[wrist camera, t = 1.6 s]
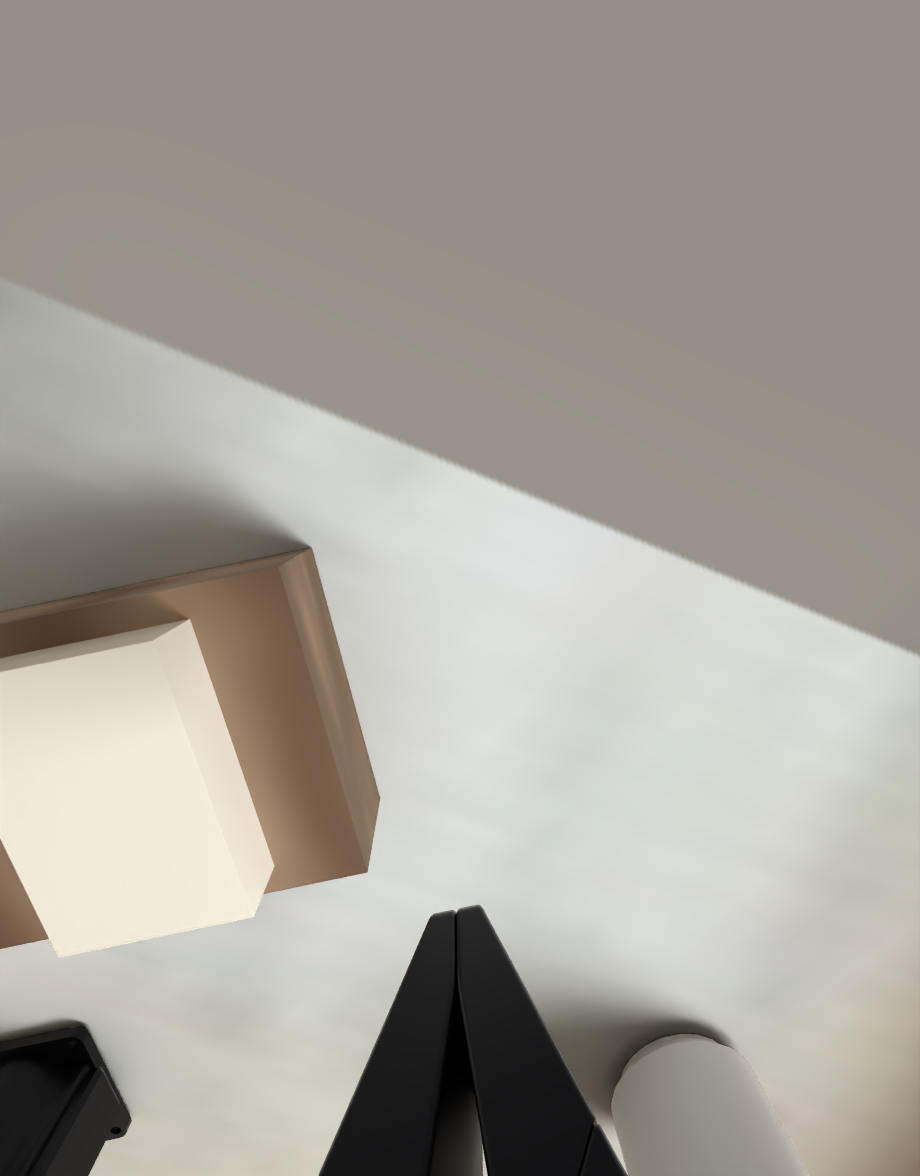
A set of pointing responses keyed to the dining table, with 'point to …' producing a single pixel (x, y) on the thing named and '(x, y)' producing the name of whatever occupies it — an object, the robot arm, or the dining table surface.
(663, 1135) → the can
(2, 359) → the dining table surface
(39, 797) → the cream chamfered block
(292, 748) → the brown flat block
